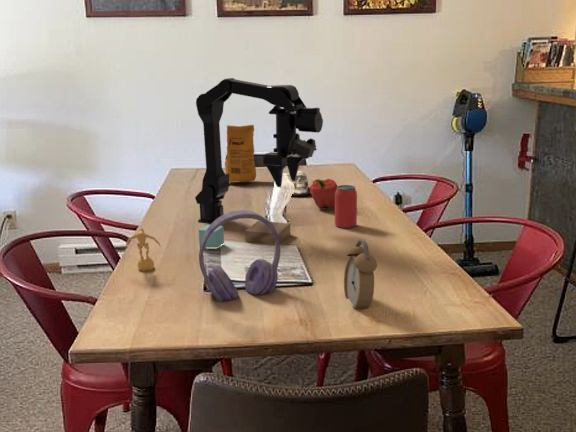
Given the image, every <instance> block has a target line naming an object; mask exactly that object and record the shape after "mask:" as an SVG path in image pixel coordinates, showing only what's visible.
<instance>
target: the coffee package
mask: <svg viewBox="0 0 576 432" xmlns="http://www.w3.org/2000/svg"><path fill="white" fill-rule="evenodd" d="M254 132H255V126H254V124H248V125H241V126H240V125H239V126H237V125H230V124H227V125H226V143H227V145H226V154H225V160H224V170H225V171H224V172H225V174H229V183H232V182H233V183H234V182H239V183H247V182H253V181H256V178H257V171H256V170H257V169H256V163H255V156H254V155H255V145H254V134H255V133H254Z"/></svg>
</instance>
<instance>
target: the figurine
mask: <svg viewBox="0 0 576 432" xmlns="http://www.w3.org/2000/svg"><path fill="white" fill-rule="evenodd" d="M147 238H148V239H150V240H154V242H155V243H156V244H158V246H159V247H161V244H160V242H159V241H158V240H157V239H156V237H154V236H153V235H152V236H151V235H150V234H147V233H146V232H145V230H144V228H141V227H140V229H139V230H138V232H137V233H136V234H133V236H131V237H129V238H128V239H127V241H126V243H125V248H128V246H129V243H130V242H131V240H134V239H137V243H136V246H137V249H138V250H139V251H138V253H139V255H140V259H138V262H137V269H138V270H139V271H141V272H142V271H143V272H146V271H151V270H153V269H154V268H155V261H154V260H153V259H152V258H151V257H150V256H149V253H150V251H149V249H150V246H149V242H146V241H147V240H146V239H147ZM143 248H144V249H146V251H145V256H143V251H142V250H143Z"/></svg>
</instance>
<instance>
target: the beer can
mask: <svg viewBox="0 0 576 432" xmlns="http://www.w3.org/2000/svg"><path fill="white" fill-rule="evenodd" d="M337 186H338V187H337V190H336V192H335V206H334V225H335V226H336V227H338V228H341V229H350V228H354V227H356V225H357V217H358V216H357V215H358V209H357V208H358V205H357V204H358V194H357V190H356V186H354V185H349V184H341V185H337Z"/></svg>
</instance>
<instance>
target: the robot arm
mask: <svg viewBox="0 0 576 432" xmlns="http://www.w3.org/2000/svg"><path fill="white" fill-rule="evenodd" d="M299 93H300V92H299V90H298V88H297V87H296V86H295V85H292V84H278V85H268V84H261V83H256V82H251V81H244V80H240V79H235V78H234V77H232V78H231V77H229V78H228V77H227V78H223V79H222V80H221V81H220V82H219V83H218V84H216V85H215V86H213V87H212V88H211V89H209V90H207V91H206V92H205V93H201V94H199V95H198V97H197V98H196V101H195V106H196V109H197V110H196V111H197V115H198V116H199V118H200V121H202V122H201V123H202V124H203V125H202V126H203V141H204V142H203V143H204V154H205V155H204V156H205V172H204V175H203V178H202V184H201V191H200V192H198V194H196V196H195V197H194V198H195V201H196V204H197V205H199V216H200V217H199V219H198V220H197V222H198V223H207V224H212V223H213V222H214V221H215V220H216V219H217V218H219V217H220V216H222V215H223V214H225V213H224V205H223V204H222V203H223V202H222V200H224V198H225V195H226V193H227V192H229V188H230V187H231V184H230V183H231V182H229V174H226V172H225V171H224V169H223V165H222V163H223V162H222V147H221V146H222V144H221V143H222V142H221V127H220V121H221V118H222V116H223V113H224V105H225V102H226V101H228V100H229V99H230V97H231V96H232V94H234V95H235V94H236V95H240V96H244V97H250V98H255V99H259V100H264V101H266V102H267V103H269V104H270V105H273V108H272V109H270V111H268V114H269V115H275V133H273V139H275V144H276V145H275V147H274V148H273V151H270V152H267V153H265V154H263V155H262V156H261V162H262V163H261V164H262V165H264V167H266V168H267V170H268V171H269V173H270V175H271V177H272V179H273V181H274V183H275V185H276V187H277V188H281V187H282V183H283V175H284V169H285V168H286V167H287V170H288V173H289V178H290V177H291V180H295V179H296V175H297V172H298V171H299V167H300V165H301V163H302V162H303V161H304V160H305V159H306V160H308V159H309V158H313V155H314V153H315V151H317V145H316V140H315V139H313V138H308V139H307V140H306V139H304V140H303V139H301V137H300V133H299V132H304V133H320V132H321V131H322V129H323V123H324V118H323V115H322V113H321V112H320V111H321V108H320V107H307V106H306V104H305V103H304V102H303V100H302V98H301V97H300V95H299ZM297 130H298V131H299V132H297Z"/></svg>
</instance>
